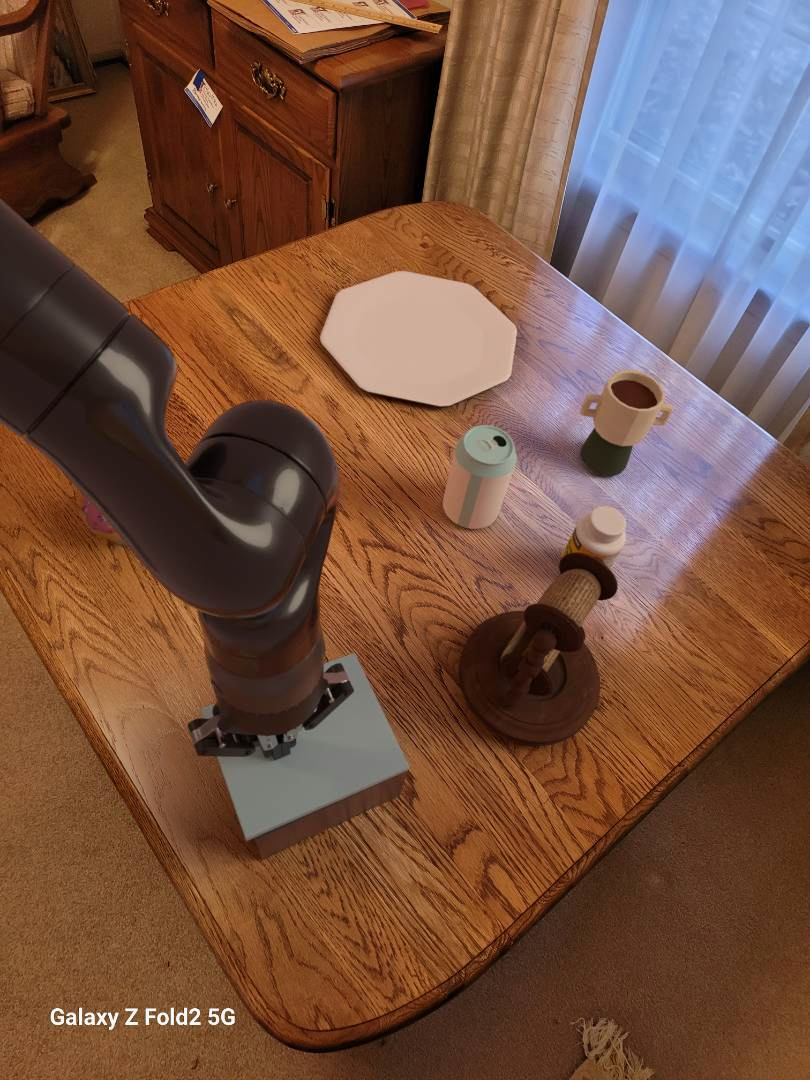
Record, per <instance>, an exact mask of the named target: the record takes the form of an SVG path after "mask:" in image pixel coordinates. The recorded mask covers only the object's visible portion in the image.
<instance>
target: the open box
mask: <svg viewBox="0 0 810 1080" xmlns="http://www.w3.org/2000/svg"><path fill="white" fill-rule="evenodd" d="M408 772H409V770H408V771H405V772H403V773H401V774H399V775H396V776H394V777H392V778H389V779H387V780H385V781H383V782H380V783H378V784H376V785H373V786H371V787H369V788H367V789H364V790H362V791H360V792H357V793H355V794H353V795H351V796H348V797H346V798H344V799H341V800H339V801H337V802H335V803H332V804H330V805H328V806H325V807H323V808H321V809H319V810H316V811H314V812H312V813H310V814H307V815H305V816H303V817H300V818H298V819H296V820H294V821H291V822H289V823H287V824H284V825H282V826H280V827H278V828H275V829H273V830H271V831H268V832H266V833H264V834H262V835H259V836H257V837H255V838H253V840H254V843H255V845H257V846H256V849H257V852H258V854H259V857H260V860H261V861H262V860H263V861H265V860H267V859H269V858H271V857H273V856H275V855H277V854H276V853H278V852H280V851H282V850H284V849H286V850H288V849H290V848H292V847H291V846H293V845H295V844H297V843H299V842H301V841H303V840H305V841H307V840H306V839H308V838H309V837H311V836H314V835H316V834H318V833H320V834H322V833H321V832H323V831H325V830H327V829H329V828H331V829H333V828H335V827H337V826H336V825H338V824H340V823H342V824H344V823H346V822H348V821H350V820H352V819H351V818H353V817H355V816H357V815H359V814H361V813H363V814H365V813H367V812H366V811H368V810H370V809H372V808H374V809H376V808H378V807H380V806H382V805H381V804H383V803H385V802H387V801H389V802H391V801H393V800H395V799H397V798H396V797H398V798H400V797H401V794H402V790H403V787H404V784H405V781H406V778H407V775H408ZM399 796H400V797H399ZM394 798H395V799H394ZM392 799H393V800H392ZM390 800H391V801H390ZM387 803H388V802H387ZM385 804H386V803H385ZM379 805H380V806H379ZM383 805H384V804H383ZM377 806H378V807H377ZM375 807H376V808H375ZM372 810H373V809H372ZM370 811H371V810H370ZM364 812H365V813H364ZM368 812H369V811H368ZM361 815H362V814H361ZM359 816H360V815H359ZM357 817H358V816H357ZM355 818H356V817H355ZM349 819H350V820H349ZM353 819H354V818H353ZM347 820H348V821H347ZM345 821H346V822H345ZM343 822H344V823H343ZM340 825H341V824H340ZM334 826H335V827H334ZM338 826H339V825H338ZM332 827H333V828H332ZM329 830H330V829H329ZM327 831H328V830H327ZM325 832H326V831H325ZM323 833H324V832H323ZM318 835H319V834H318ZM316 836H317V835H316ZM314 837H315V836H314ZM308 840H309V839H308ZM303 842H304V841H303ZM301 843H302V842H301ZM299 844H300V843H299ZM297 845H298V844H297ZM295 846H296V845H295ZM289 847H290V848H289ZM293 847H294V846H293ZM287 848H288V849H287ZM284 851H285V850H284ZM282 852H283V851H282ZM280 853H281V852H280ZM274 854H275V855H274ZM278 854H279V853H278ZM272 855H273V856H272ZM270 856H271V857H270ZM268 857H269V858H268ZM266 858H267V859H266ZM264 859H265V860H264Z"/></svg>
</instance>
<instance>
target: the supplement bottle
mask: <svg viewBox="0 0 810 1080" xmlns="http://www.w3.org/2000/svg"><path fill="white" fill-rule="evenodd" d="M626 528H627V520H626V517H625V516H624V514H623V513H622V512H621V511H620V510H618V509H616V508H615V507H612V506H609V505H599V506H597V507H595V508H594V509H592V511H591V512H590V513H589V512H588V513H587V514H584V515H583V516H582V517H581V518H580V519H579V521H577V524H576V526H575V528H574V529H573V531H572V534H571V535H570V537H569V539H568V542H567V543H566V546H565V547H564V549H563V552H562V553H561V555H560V558H559V561H558V564H559V563H560V560H561V559H562V557H563V556H565V555H566V554H569V553H575V552H577V553H584V554H588V555H590V556H596V557H599V558H601V559H602V560H603V561H604V563H605V565H606V566H607V567H608V568H609V569H610V570H611V568H612V566H613V564H614V563H615V561H616V560H617V558H618V556H619V554H620V553H621V551H622V550H623V548H624V547H625V544H626V542H627V533H626Z"/></svg>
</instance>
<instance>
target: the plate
mask: <svg viewBox="0 0 810 1080" xmlns="http://www.w3.org/2000/svg"><path fill="white" fill-rule="evenodd" d="M517 335H518V329H517V327H516V324H514V322H513V321H511V320H510V319H509V318H508V317H507V316H506V315H505V314H503V312H502V311H500V310H499V308H497V307H496V306H495V304H493V303H492V302H491V301H489V299H488V298H486V296H485V295H483V293H482V292H481V291H479V290H478V289H477V288H476V287H475V286H474V285H472V284H469V283H466V282H462V281H457V280H452V279H447V278H441V277H436V276H431V275H428V274H427V275H426V274H422V273H416V272H412V271H406V270H396V271H393V272H390V273H387V274H384V275H381V276H378V277H375V278H373V279H369V280H366V281H364V282H360V283H357V284H354V285H351V286H349V287H346V288H342V289H340V290H339V291H338V292H337V293H336V294H335V296H334V299H333V301H332V304H331V306H330V309H329V310H328V314H327V317H326V320H325V322H324V325H323V327H322V330H321V333H320V335H319V340H320V344H321V346H322V347H323V348H324V349H325V350H326V351H327V352H328V354H329V355H330V356H331V357H332V358H333V360H334V361H335V362H336V363H337V364H338V365H339V367H341V369H342V370H343V372H345V373H346V375H348V377H349V379H351V380H352V381H353V383H354V384H355V385H356V386H357V387H358V388H359V389H360V390H362V391H364V392H366V393H368V394H373V395H378V396H383V397H388V398H392V399H397V400H402V401H407V402H413V403H417V404H421V405H427V406H430V407H431V406H432V407H437V408H448V407H452V406H455V405H456V404H459V403H461V402H463V401H465V400H468V399H470V398H473V397H475V396H478V395H479V394H481V393H484V392H486V391H489V390H491V389H493V388H495V387H498V386H499V385H502V384H504V383H507V381H508V380H510V378H511V375H512V371H513V365H514V364H513V363H514V357H515V351H516V342H517Z"/></svg>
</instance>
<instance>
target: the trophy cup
mask: <svg viewBox="0 0 810 1080" xmlns="http://www.w3.org/2000/svg"><path fill="white" fill-rule="evenodd" d="M665 398H666V393H665V391H664V388H663V387H662V385H661V384H660V383H659V382H658V381H657V380H656V379H655V378H654V377H652V376H651V375H649V374H647V373H646V372H644V371H643V372H642V371H640V370H636V369H620V370H618V371H616V372H614V373H613V374H612V375H610V377H608V379H607V380H606V382H605V384H604V387H603V390H602V392H601V394H593V393H589V394H587V395H586V396H585V398H584V400H583V403H582V405H581V407H580V410H579V413H580V415H581V416H583V417H589V418H592V422H593V426H594V427H593V429H592V431H590V433H589V435H588V436H587V437H586V439H585V441H584V442H583V444H582V445H581V448H580V454H579V455H580V458H581V461H582V463H583V464H584V465H585V466H586V467H587V469H588V470H589V471H591V472H592V473H595V474H596V475H598V476H600V477H606V478H607V477H608V478H612V477H614V476H618V475H620V474H621V473H622V472H623V471H624V470H626V469H627V466H628V463H629V461H630V457H631V454H632V450H633V447H634V445H638V444H639V443H641V442H642V441H643V440H644V438H645V437H646V436H647V435H648V433H649V432H650V430H651V428H652V426H653V425H654V426H659V427H660V426H665V425H666V424H667V422H668V421H669V418H670V417H671V415H672V413H673V411H674V406H673V405H672V404H670V403H665ZM592 404H596V406H595V408H591V406H592ZM659 412H662V414H661V416H658V415H659Z"/></svg>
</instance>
